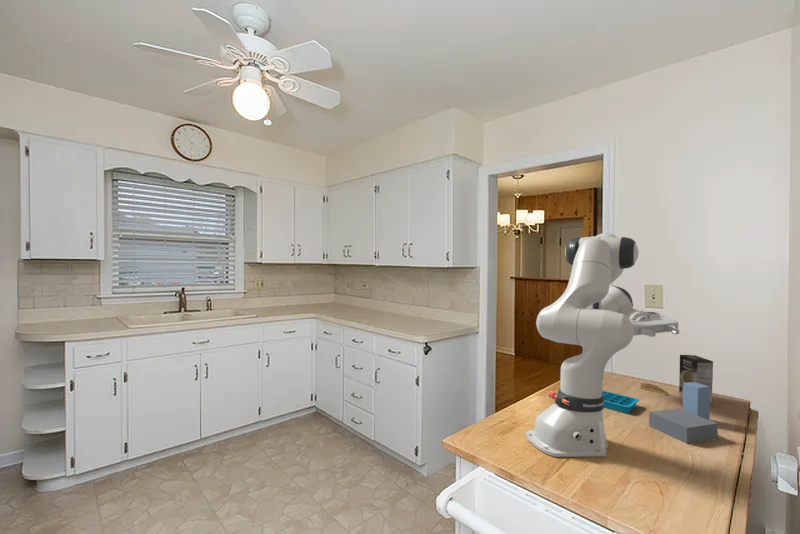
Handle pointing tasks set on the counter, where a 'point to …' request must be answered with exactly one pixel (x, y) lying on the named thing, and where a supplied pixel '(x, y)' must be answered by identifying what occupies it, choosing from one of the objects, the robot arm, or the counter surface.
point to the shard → (652, 388)
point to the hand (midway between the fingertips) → (665, 333)
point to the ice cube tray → (619, 402)
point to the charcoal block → (683, 425)
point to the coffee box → (695, 372)
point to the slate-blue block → (696, 399)
